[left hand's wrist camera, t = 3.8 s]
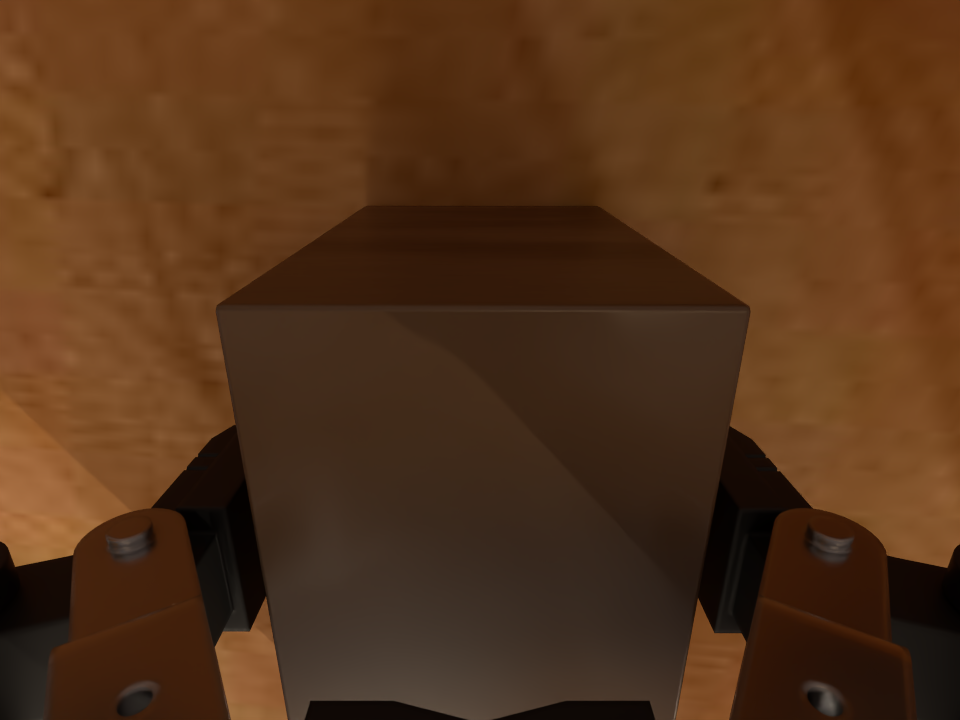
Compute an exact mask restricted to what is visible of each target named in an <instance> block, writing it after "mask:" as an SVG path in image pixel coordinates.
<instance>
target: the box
mask: <svg viewBox="0 0 960 720" xmlns="http://www.w3.org/2000/svg"><path fill="white" fill-rule="evenodd" d="M216 315H217V321H218V326H219V332H220V338H221V343H222V349H223V355H224V360H225V366H226V372H227V377H228V383H229V389H230V394H231V400H232V406H233V411H234V417H235V423H236V428H237V434H238V439H239V445H240V451H241V456H242V462H243V468H244V473H245V479H246V485H247V490H248V496H249V502H250V507H251V513H252V519H253V524H254V530H255V536H256V541H257V547H258V553H259V558H260V564H261V570H262V575H263V581H264V587H265V592H266V598H267V604H268V609H269V615H270V621H271V626H272V632H273V638H274V643H275V649H276V655H277V660H278V666H279V672H280V677H281V683H282V689H283V694H284V700H285V706H286V711H287V717H288V720H305V717H306V713H307V710H308V707H309V703H310V701H397V702H401V703H405V704H409V705H413V706H416V707H420V708H424V709H428V710H432V711H436V712H440V713H444V714H448V715H452V716H455V717H459V718H463V719H467V720H493V719H497V718H501V717H505V716H508V715H512V714H516V713H520V712H524V711H528V710H532V709H536V708H540V707H544V706H547V705H551V704H555V703H559V702H563V701H650V703H651V707H652V710H653V713H654V717H655V720H676V715H677V709H678V704H679V698H680V693H681V687H682V682H683V676H684V671H685V665H686V660H687V655H688V649H689V644H690V638H691V633H692V627H693V622H694V616H695V611H696V606H697V600H698V595H699V589H700V584H701V578H702V573H703V567H704V562H705V556H706V551H707V546H708V540H709V535H710V529H711V524H712V518H713V513H714V507H715V502H716V496H717V491H718V486H719V480H720V475H721V469H722V464H723V458H724V453H725V447H726V442H727V437H728V431H729V426H730V420H731V415H732V409H733V404H734V398H735V393H736V387H737V382H738V377H739V371H740V366H741V360H742V355H743V349H744V344H745V338H746V333H747V328H748V322H749V317H750V308H749V306H748V305H747V304H745V303H743V302H742V301H740V300H739V299H737V298H736V297H734V296H733V295H731V294H730V293H728V292H727V291H725V290H724V289H722V288H721V287H719V286H718V285H716V284H715V283H713V282H712V281H710V280H709V279H707V278H706V277H704V276H703V275H701V274H700V273H698V272H697V271H695V270H694V269H692V268H691V267H689V266H688V265H686V264H685V263H683V262H681V261H680V260H678V259H677V258H675V257H674V256H672V255H671V254H669V253H668V252H666V251H665V250H663V249H662V248H660V247H659V246H657V245H656V244H654V243H653V242H651V241H650V240H648V239H647V238H645V237H644V236H642V235H641V234H639V233H638V232H636V231H635V230H633V229H632V228H630V227H629V226H627V225H626V224H624V223H623V222H621V221H619V220H618V219H616V218H615V217H613V216H612V215H610V214H609V213H607V212H606V211H604V210H603V209H601V208H600V207H598V206H366V207H364V208H362V209H361V210H359V211H358V212H356V213H355V214H353V215H352V216H350V217H349V218H347V219H346V220H344V221H343V222H341V223H340V224H338V225H337V226H335V227H334V228H332V229H331V230H329V231H328V232H326V233H325V234H323V235H322V236H320V237H319V238H317V239H316V240H314V241H313V242H311V243H310V244H308V245H307V246H305V247H304V248H302V249H301V250H299V251H298V252H296V253H295V254H293V255H292V256H290V257H289V258H287V259H286V260H284V261H283V262H281V263H280V264H278V265H277V266H275V267H274V268H272V269H271V270H269V271H268V272H266V273H265V274H263V275H262V276H260V277H259V278H257V279H256V280H254V281H253V282H251V283H250V284H248V285H247V286H245V287H244V288H242V289H241V290H239V291H238V292H236V293H235V294H233V295H232V296H230V297H229V298H227V299H226V300H224V301H223V302H221V303H220V304H218V305H217V307H216Z"/></svg>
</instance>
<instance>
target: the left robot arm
mask: <svg viewBox="0 0 960 720" xmlns="http://www.w3.org/2000/svg"><path fill="white" fill-rule="evenodd" d="M265 597H266V592H265V587H264V581H263V575H262V570H261V564H260V558H259V553H258V547H257V541H256V536H255V530H254V524H253V519H252V513H251V507H250V502H249V496H248V490H247V485H246V479H245V473H244V468H243V462H242V456H241V451H240V445H239V439H238V434H237V428H236V425H234V426H232V427H230V428H228V429H227V430H225V431H223V432H222V433H220V434H218V435H217V436H215V437H213V438H212V439H211V440H210V441H209V442H208V443H207V445H206V446H205V447H204V448H203V449H202V450H201V451H200V453H199V454H198V457H195V458H194V459H193V461H192V462H191V463H190V464H189V465H188V466H187V470H184V471H183V472H182V473H181V474H180V476H179V477H178V478H177V479H176V480H175V481H174V482H173V484H172V485H171V486H170V487H169V488H168V489H167V491H166V492H165V493H164V494H163V495H162V496H161V497H160V499H159V500H158V501H157V502H156V503H155V504H154V505H153V507H152V508H151V509H143V510H137V511H133V512H129V513H126V514H123V515H120V516H117V517H115V518H113V519H110V520H108V521H106V522H104V523H102V524H101V525H99V526H97V527H96V528H94V529H93V530H92V531H90V532H89V533H88V534H87V535H86V536H84V537H83V538H82V539H81V541H80V542H79V543H78V544H77V546H76V548H75V550H74V554H73V555H72V556H67V557H62V558H58V559H53V560H48V561H43V562H38V563H33V564H28V565H23V566H18V567H15V566H14V563H13V560H12V558H11V555H10V552H9V550H8V547H7V546H6V545H5V544H4V543H2V542H0V720H231V718H230V714H229V709H228V705H227V700H226V696H225V692H224V687H223V683H222V678H221V674H220V669H219V665H218V660H217V656H216V652H215V645H216V644H217V642H218V640H219V638H220V636H221V634H222V632H223V631H250V630H251V627H252V625H253V623H254V621H255V619H256V616H257V614H258V612H259V610H260V608H261V606H262V603H263V601H264V599H265ZM698 599H699V601H700V603H701V605H702V607H703V609H704V611H705V614H706V616H707V618H708V620H709V622H710V624H711V626H712V629H713V631H714V633H742V634H743V636H744V638H745V640H746V642H747V643H746V647H745V652H744V656H743V660H742V665H741V669H740V674H739V678H738V683H737V687H736V692H735V696H734V700H733V705H732V709H731V714H730V718H729V720H960V545H958V546H957V547H956V548H955V549H954V552H953V555H952V557H951V560H950V563H949V565H948V568H944V567H939V566H935V565H930V564H925V563H920V562H915V561H910V560H905V559H900V558H895V557H891V556H887V554H886V550H885V548H884V546H883V544H882V543H881V542H880V541H879V539H878V538H877V537H876V536H874V535H873V534H872V533H871V532H870V531H868V530H867V529H866V528H864V527H863V526H861V525H859V524H858V523H856V522H854V521H852V520H850V519H847V518H845V517H843V516H840V515H837V514H834V513H831V512H827V511H823V510H817V509H813V508H812V507H811V506H810V505H809V504H808V503H807V501H806V500H805V499H804V498H803V497H802V496H801V495H800V494H799V492H798V491H797V490H796V489H795V488H794V487H793V486H792V484H791V483H790V482H789V481H788V480H787V479H786V478H785V476H784V475H783V474H782V473H781V472H780V471H777V467H776V466H775V465H774V464H773V463H772V462H771V461H770V459H769V458H766V455H765V454H764V453H763V451H762V450H761V449H760V448H759V447H758V446H757V445H756V443H755V442H754V441H753V440H752V439H750V438H749V437H747V436H745V435H744V434H742V433H740V432H739V431H737V430H735V429H734V428H732V427H730V426H729V431H728V437H727V442H726V447H725V453H724V458H723V464H722V469H721V475H720V480H719V486H718V491H717V496H716V502H715V507H714V513H713V518H712V524H711V529H710V535H709V540H708V546H707V551H706V556H705V562H704V567H703V573H702V578H701V584H700V589H699V595H698ZM305 720H467V719H463V718H459V717H455V716H452V715H448V714H444V713H440V712H436V711H432V710H428V709H424V708H420V707H416V706H413V705H409V704H405V703H401V702H397V701H310V703H309V707H308V710H307V713H306V717H305ZM493 720H655V717H654V713H653V710H652V707H651V703H650V701H563V702H559V703H555V704H551V705H547V706H544V707H540V708H536V709H532V710H528V711H524V712H520V713H516V714H512V715H508V716H505V717H501V718H497V719H493Z"/></svg>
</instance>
